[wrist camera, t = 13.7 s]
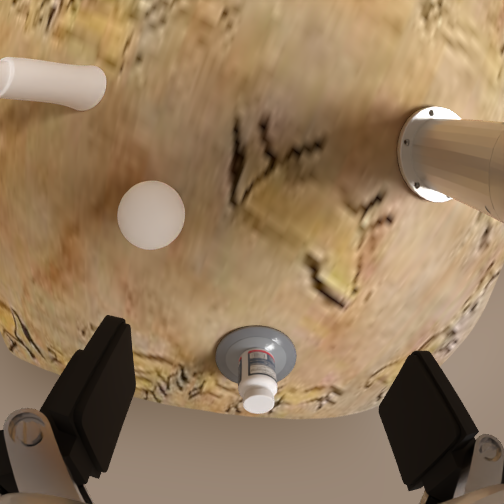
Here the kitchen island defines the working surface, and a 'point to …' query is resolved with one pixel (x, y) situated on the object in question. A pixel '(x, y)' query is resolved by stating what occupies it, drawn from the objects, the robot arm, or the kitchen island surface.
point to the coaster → (255, 338)
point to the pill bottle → (257, 380)
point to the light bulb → (151, 215)
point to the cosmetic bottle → (51, 82)
